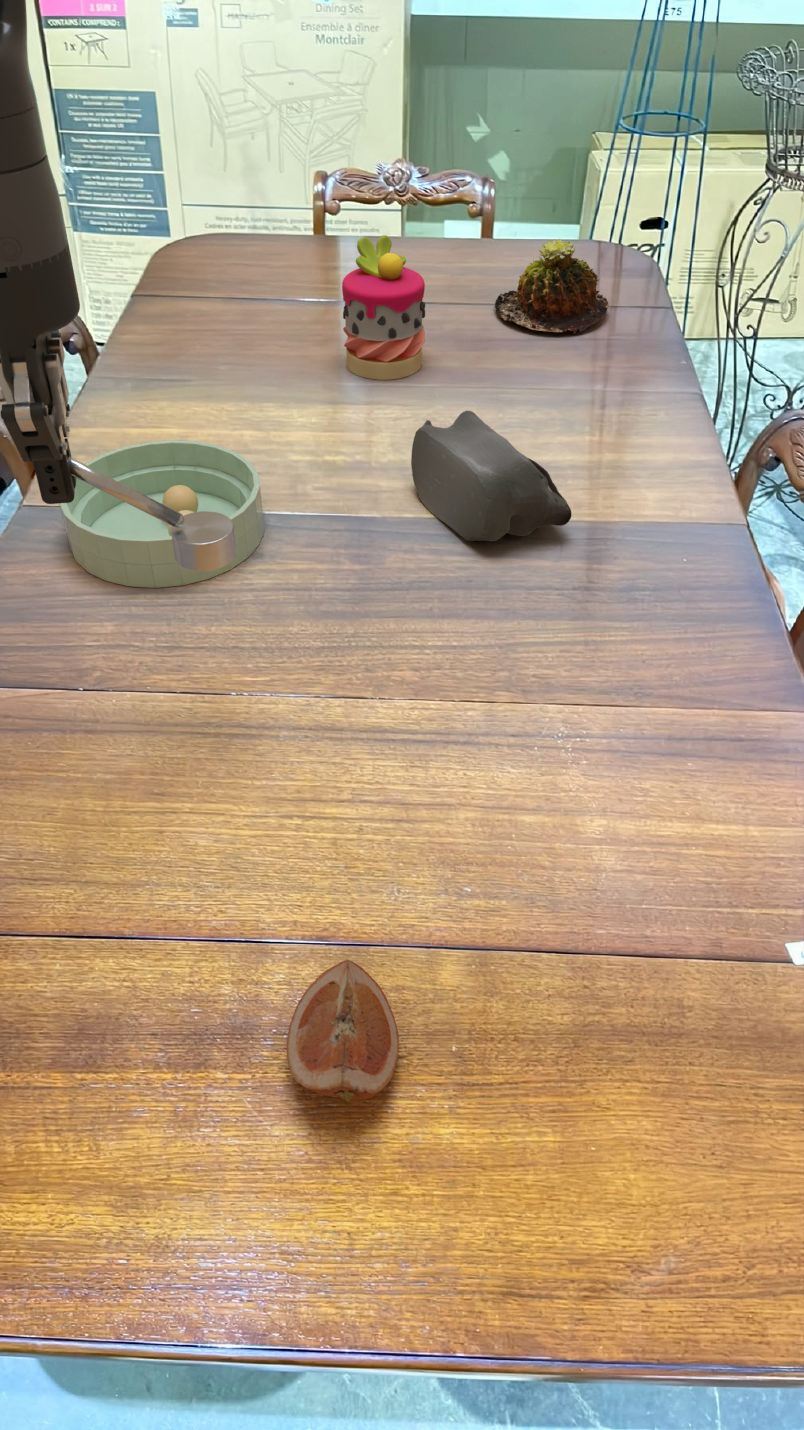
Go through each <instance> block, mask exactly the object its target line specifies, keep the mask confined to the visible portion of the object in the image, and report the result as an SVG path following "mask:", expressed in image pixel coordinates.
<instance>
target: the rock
mask: <svg viewBox="0 0 804 1430" xmlns="http://www.w3.org/2000/svg"><path fill="white" fill-rule="evenodd" d="M411 446H412V447H411V459H410V460H411V461H410V466H411V474H412V481H413V484H414V488H415V490H416V493H417V495H418V497H419V499H420V501H421V503H422V504H423V506H424V507H425V508H426V509H427V510H428V511H429V513H431V514H432V515H433V516H434V517H436V518H437V519H438V520H440V521H441V522H443V523H444V524H445V525H446V526H448V527H449V528H450V529H452V530H454V532H455V533H457V535H459V536H460V537H461V538H462V539H464V540H465V541H466V542H475V541H477V542H478V541H480V542H481V541H483V542H484V541H487V542H498V541H499V540H500V539H501V538H502V537H504V536H505V535H506V534H509V535H513V536H518V537H526V536H527V537H528V536H530V535H531V534H532V533H533V532H534V531H535V530H536V529H539V528H542V527H546V526H555V527H563V526H565V525H567V524H568V523H569V522H570V520H571V519H572V510H571V507H570V505H569V503H568V502H567V500H566V499H565V498H564V496H563V495H562V494H561V492H559V490H558V488H557V486H556V485H555V482H553V480H552V478H551V475H550V473H549V472H548V471H547V469H545V468H544V467H543V466H541V465H540V464H539V463H537V461H535V460H533V459H531V458H530V457H528V456H526V455H525V454H523V453H522V452H520V451H519V450H518V449H517V448H516V447H514V445H513V444H512V443H511V442H510V441H509V440H508V439H507V438H505V437H504V436H502V435H500V434H499V433H497V431H495V430H494V429H493V428H491V426H489V425H488V424H487V423H486V422H484V421H483V420H482V419H481V418H480V417H479V416H478V414H476V413H475V412H474V411H472V410H464V411H463V412H461V413H459V415H458V416H457V417H456V418H455V420H454V422H453V423H452V424H451V425H449V427H440V426H434V425H433V424H432V421H431V420H429V419H428V420H427V419H426V420H425V422H424V423H423V425H421V426H420V427H419V428H418V429H417V430H416V431H415V434H414V437H413V440H412V445H411Z"/></svg>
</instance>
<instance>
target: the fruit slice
mask: <svg viewBox="0 0 804 1430" xmlns="http://www.w3.org/2000/svg"><path fill="white" fill-rule="evenodd" d="M382 989H383V988H381V986H380V985H379V983H378V982H377V981H376V980H375V978H373V977H372V976H371V975H370V973H368V972H367V971H366V970H365V969H364V968H363V967H362V966H360V965H359V964H357V963H355V962H354V961H352V960H350V959H346V960H343V961H341V962H339V963H337V964H335V965H333V966H332V967H330V968H328V969H326V971H324V972H322V973H321V974H320V975H319V976H318V977H316V979H315V980H314V981H313V982H312V983H311V984H310V985H309V986H308V988H307V989H306V990H305V991H304V993H303V994H302V995H301V998H300V999H299V1001H298V1002H297V1004H296V1007H295V1009H294V1012H293V1014H292V1017H291V1020H290V1024H289V1027H288V1030H287V1031H288V1032H287V1038H286V1061H287V1064H288V1069H289V1072H290V1074H291V1076H292V1078H293V1079H294V1080H295V1082H296V1083H298V1084H299V1085H301V1086H302V1087H303V1088H305V1089H307V1090H310V1091H312V1092H315V1093H318V1094H321V1095H324V1096H328V1097H332V1098H340V1099H343V1100H346V1101H347V1102H350V1101H351V1100H358V1099H359V1100H366V1099H371V1098H372V1097H374V1096H376V1095H377V1094H379V1093H380V1092H381V1091H382V1090H383V1089H384V1088H385V1087H386V1086H387V1085H388V1084H389V1083H390V1081H391V1079H392V1078H393V1076H394V1073H395V1070H396V1067H397V1063H398V1059H399V1049H400V1038H399V1031H398V1025H397V1021H396V1019H395V1016H394V1013H393V1010H392V1008H391V1006H390V1003H389V1001H388V998H387V997H386V994H385V992H384V991H383V990H382Z"/></svg>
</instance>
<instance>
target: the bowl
mask: <svg viewBox="0 0 804 1430" xmlns="http://www.w3.org/2000/svg"><path fill="white" fill-rule="evenodd" d="M84 464H85V465H87V466H89V467H91V468H93V469H95V470H97V471H99V472H101V473H103V474H105V475H107V476H109V477H110V478H112V479H114V480H116V481H118V482H120V483H122V484H124V485H126V486H128V487H130V488H132V489H134V490H136V491H138V492H140V493H142V494H144V495H146V496H148V497H150V498H152V499H154V500H155V501H157V502H159V503H161V504H162V501H163V496H164V494H165V492H166V491H167V490H168V489H169V488H171V487H173V486H176V485H184V486H187V487H189V488H191V489H192V490H193V491H194V492H195V494H196V495H197V498H198V503H199V504H198V510H197V512H201V511H210V512H217V513H221V514H223V515H225V516H227V517H228V518H230V519H231V521H232V522H233V526H234V535H235V544H236V556H235V558H234V559H233V561H232V562H231V563H229V564H228V565H226V566H224V567H222V568H219V569H216V570H212V571H193V570H189V569H186V568H183V567H182V566H180V565H179V564H178V563H177V561H176V560H175V555H174V549H173V542H172V536H169V533H168V524H167V523H165V522H163V521H161V520H159V519H157V518H155V517H153V516H151V515H149V514H147V513H145V512H143V511H141V510H139V509H137V508H135V507H133V506H132V505H130V504H128V503H126V502H124V501H122V500H120V499H118V498H116V497H114V496H112V495H110V494H108V493H106V492H104V491H102V490H100V489H98V488H96V487H94V486H92V485H90V484H88V483H86V482H84V481H82V480H80V479H78V478H76V487H75V489H74V490H75V496H74V500H73V501H72V502H70V503H59V504H58V505H59V507H60V512H61V516H62V520H63V524H64V528H65V533H66V536H67V541H68V545H69V549H70V551H71V553H72V556H73V558H74V561H75V562H76V563H77V564H78V565H79V566H81V567H82V568H83V570H85V571H86V572H87V573H88V574H90V575H92V576H94V577H97V578H99V579H101V580H102V581H104V582H108V583H113V584H115V585H116V584H117V585H120V586H126V587H134V588H149V589H150V588H151V589H158V588H159V589H160V588H168V587H169V588H171V587H181V586H185V585H190V584H191V585H192V584H194V583H199V582H203V581H206V580H209V579H212V578H214V577H217V576H220V575H221V574H224V573H226V572H229V571H231V570H232V569H234V568H235V567H237V566H239V564H241V563H243V562H245V560H248V558H249V557H250V556H251V555H252V554H253V553H254V552H255V551H256V549H257V548H258V547H259V546H260V544H261V541H262V538H263V536H264V533H265V523H264V512H263V510H264V509H263V501H262V492H261V491H262V490H261V483H260V482H261V481H260V476H259V472H258V471H257V469H256V468H255V466H254V465H253V464H252V462H251V461H250V460H249V459H247V458H246V457H244V456H243V455H241V454H240V453H239V452H237V451H235V450H232V449H230V448H227V447H224V446H221V445H218V444H214V443H208V442H204V441H199V440H178V439H169V440H156V441H146V442H141V443H137V444H131V445H126V446H121V447H119V448H117V449H114V450H111V451H108V452H105V453H102V454H100V455H98V456H96V457H94V458H92V459H90V460H88V461H86V462H85V463H84Z"/></svg>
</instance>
